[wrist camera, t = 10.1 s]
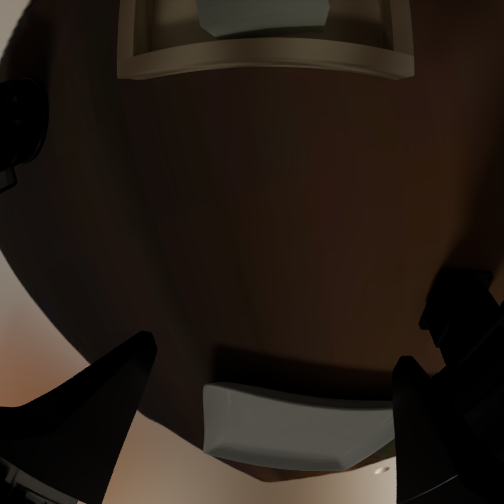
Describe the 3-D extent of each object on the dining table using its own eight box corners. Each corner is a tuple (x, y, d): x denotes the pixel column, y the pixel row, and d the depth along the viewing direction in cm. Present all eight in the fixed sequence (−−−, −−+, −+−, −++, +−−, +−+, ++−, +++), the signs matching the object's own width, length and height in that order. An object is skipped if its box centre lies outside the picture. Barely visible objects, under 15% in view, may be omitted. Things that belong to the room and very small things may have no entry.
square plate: (207, 438, 43) (202, 455, 39) (211, 357, 29) (201, 384, 25) (345, 457, 41) (344, 473, 37) (426, 385, 27) (432, 410, 23)
